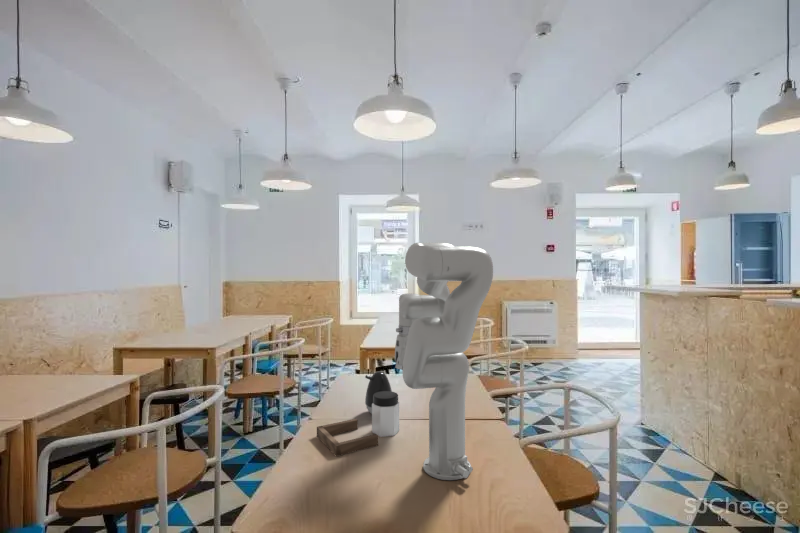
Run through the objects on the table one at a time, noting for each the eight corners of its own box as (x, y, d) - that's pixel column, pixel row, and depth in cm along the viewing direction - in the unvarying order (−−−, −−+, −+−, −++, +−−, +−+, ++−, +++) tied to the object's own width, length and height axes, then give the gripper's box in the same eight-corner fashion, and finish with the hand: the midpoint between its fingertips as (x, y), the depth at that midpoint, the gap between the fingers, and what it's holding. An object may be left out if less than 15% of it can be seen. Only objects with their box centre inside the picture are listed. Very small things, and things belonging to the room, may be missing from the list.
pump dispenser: (360, 410, 154) (360, 369, 153) (386, 406, 158) (386, 366, 158) (370, 420, 144) (370, 376, 144) (397, 415, 149) (397, 373, 149)
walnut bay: (378, 445, 124) (378, 435, 124) (336, 456, 117) (336, 445, 117) (355, 427, 138) (355, 418, 138) (316, 436, 131) (316, 426, 131)
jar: (404, 432, 133) (404, 395, 133) (384, 439, 128) (384, 400, 128) (387, 424, 140) (387, 389, 140) (367, 430, 135) (367, 393, 135)
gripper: (396, 334, 132) (396, 391, 133) (434, 330, 140) (434, 383, 140) (385, 330, 139) (385, 384, 139) (422, 326, 146) (421, 378, 147)
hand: (409, 384), depth 140 cm, fingers closed
